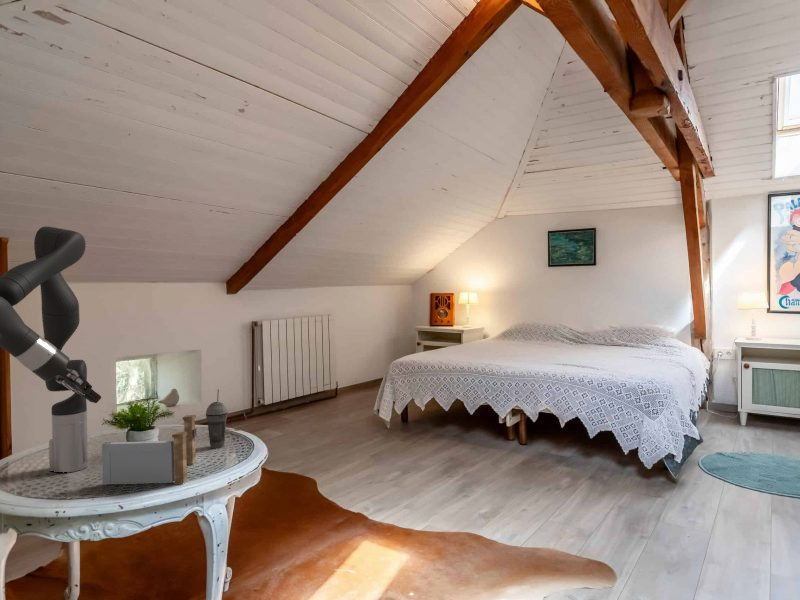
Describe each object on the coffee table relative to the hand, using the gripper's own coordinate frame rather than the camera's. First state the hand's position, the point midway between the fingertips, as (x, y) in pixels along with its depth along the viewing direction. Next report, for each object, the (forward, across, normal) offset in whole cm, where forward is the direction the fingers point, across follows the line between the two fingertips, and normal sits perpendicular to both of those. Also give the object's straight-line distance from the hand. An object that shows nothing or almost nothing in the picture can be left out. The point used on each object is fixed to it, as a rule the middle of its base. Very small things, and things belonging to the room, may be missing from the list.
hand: (96, 399), depth 142 cm
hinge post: (+30, -10, +5) cm, 32 cm away
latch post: (+38, +5, -3) cm, 38 cm away
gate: (+25, -1, +10) cm, 27 cm away
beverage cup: (+49, +16, -14) cm, 54 cm away
